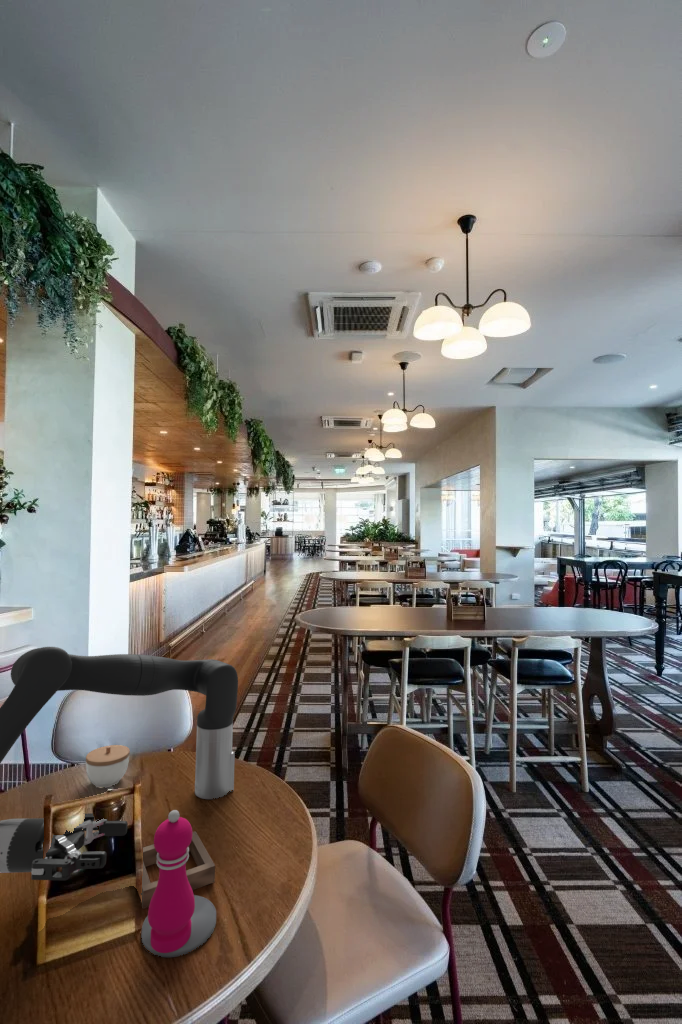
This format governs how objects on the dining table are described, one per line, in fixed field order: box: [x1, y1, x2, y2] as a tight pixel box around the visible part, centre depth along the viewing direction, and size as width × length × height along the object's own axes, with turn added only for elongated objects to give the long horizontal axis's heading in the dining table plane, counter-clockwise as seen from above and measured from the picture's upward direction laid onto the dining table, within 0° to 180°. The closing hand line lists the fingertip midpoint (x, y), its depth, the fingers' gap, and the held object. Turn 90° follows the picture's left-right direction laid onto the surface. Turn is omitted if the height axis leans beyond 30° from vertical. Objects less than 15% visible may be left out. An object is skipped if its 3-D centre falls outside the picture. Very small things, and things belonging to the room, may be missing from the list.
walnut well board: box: [141, 831, 216, 910], centre depth 94 cm, size 13×13×3 cm
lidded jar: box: [85, 744, 131, 789], centre depth 130 cm, size 11×11×9 cm
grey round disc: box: [140, 894, 217, 958], centre depth 81 cm, size 12×12×1 cm
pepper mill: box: [147, 809, 195, 953], centre depth 78 cm, size 7×7×20 cm
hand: (116, 843), depth 82 cm, fingers open, 8 cm apart
